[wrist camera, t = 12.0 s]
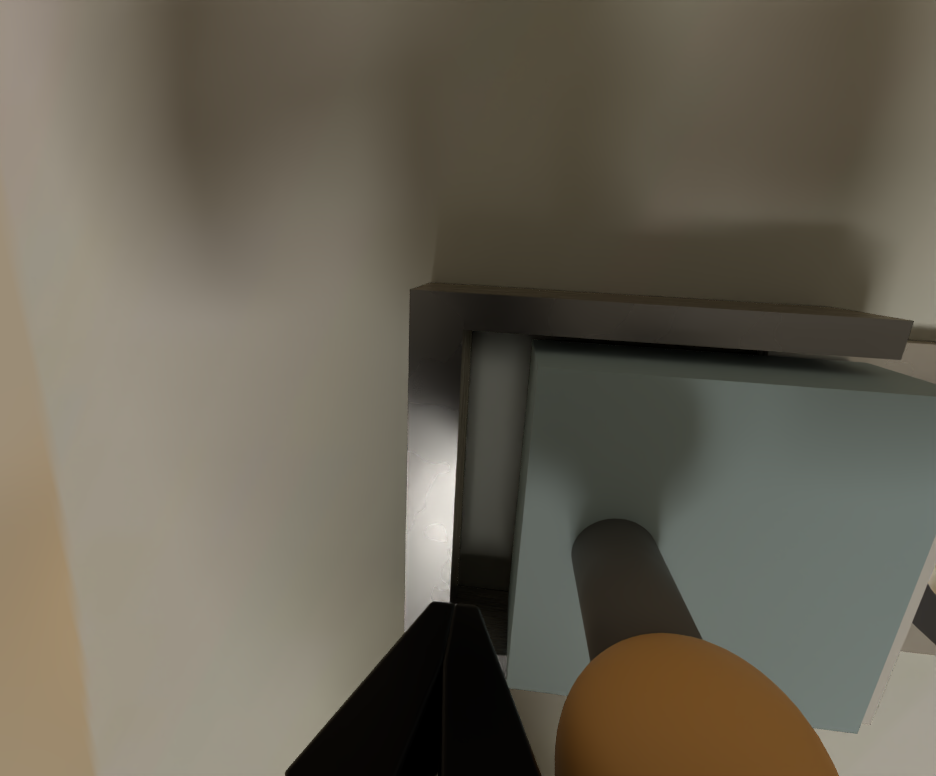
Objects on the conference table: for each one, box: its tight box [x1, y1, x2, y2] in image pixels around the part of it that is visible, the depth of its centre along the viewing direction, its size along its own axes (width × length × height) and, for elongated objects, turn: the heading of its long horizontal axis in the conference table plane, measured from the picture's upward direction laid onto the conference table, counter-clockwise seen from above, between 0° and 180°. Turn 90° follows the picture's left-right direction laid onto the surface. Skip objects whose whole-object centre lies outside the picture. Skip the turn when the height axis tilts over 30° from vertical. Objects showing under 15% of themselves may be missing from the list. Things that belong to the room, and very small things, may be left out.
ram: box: [506, 339, 936, 776], centre depth 8 cm, size 8×8×9 cm
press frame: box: [404, 283, 936, 679], centre depth 11 cm, size 10×22×4 cm, turn 87°
